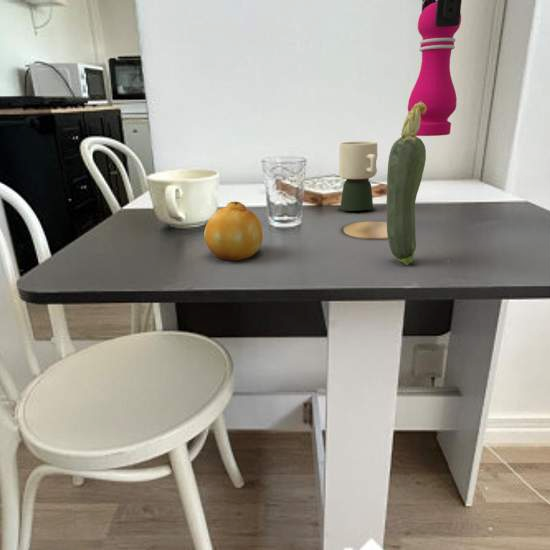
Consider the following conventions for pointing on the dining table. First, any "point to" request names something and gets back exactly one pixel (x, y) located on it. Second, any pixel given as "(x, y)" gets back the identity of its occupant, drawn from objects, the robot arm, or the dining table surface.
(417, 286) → the dining table surface
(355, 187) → the character mug
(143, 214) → the dining table surface
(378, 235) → the coaster
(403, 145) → the vegetable
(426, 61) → the pepper mill
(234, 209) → the fruit
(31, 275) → the dining table surface
